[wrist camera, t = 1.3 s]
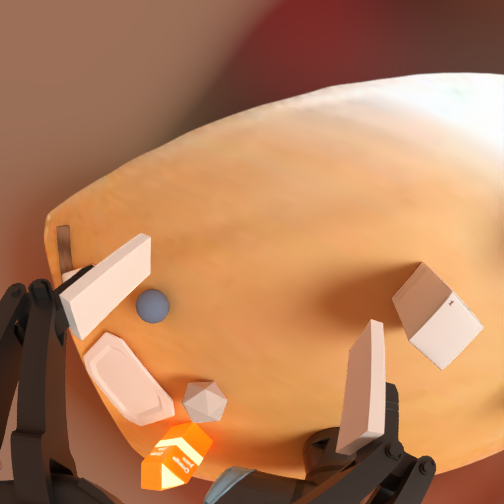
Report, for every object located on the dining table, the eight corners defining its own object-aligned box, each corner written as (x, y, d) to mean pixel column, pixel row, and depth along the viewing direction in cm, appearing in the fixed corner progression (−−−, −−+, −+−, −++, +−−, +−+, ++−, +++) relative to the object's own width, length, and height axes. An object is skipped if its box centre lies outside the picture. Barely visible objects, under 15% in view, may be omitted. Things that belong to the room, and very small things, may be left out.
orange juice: (214, 441, 54) (175, 501, 36) (191, 445, 58) (153, 497, 39) (193, 420, 54) (148, 479, 36) (171, 425, 58) (128, 476, 39)
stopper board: (80, 319, 60) (73, 323, 57) (76, 317, 60) (69, 320, 58) (68, 225, 54) (60, 227, 52) (64, 225, 55) (56, 226, 52)
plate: (83, 357, 64) (78, 360, 62) (117, 321, 55) (110, 325, 53) (138, 424, 63) (134, 428, 61) (187, 407, 54) (183, 413, 52)
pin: (97, 275, 54) (69, 286, 46) (91, 273, 54) (62, 283, 46) (96, 264, 53) (67, 274, 45) (90, 262, 54) (61, 272, 46)
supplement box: (389, 298, 37) (405, 340, 25) (422, 260, 34) (453, 288, 22) (419, 326, 36) (441, 372, 24) (451, 290, 33) (486, 327, 21)
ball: (176, 318, 49) (157, 332, 43) (150, 311, 50) (131, 323, 45) (174, 288, 47) (154, 299, 42) (148, 282, 49) (127, 292, 43)
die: (189, 370, 52) (168, 409, 46) (206, 372, 45) (182, 419, 39) (221, 387, 54) (202, 426, 48) (242, 391, 47) (221, 435, 42)
